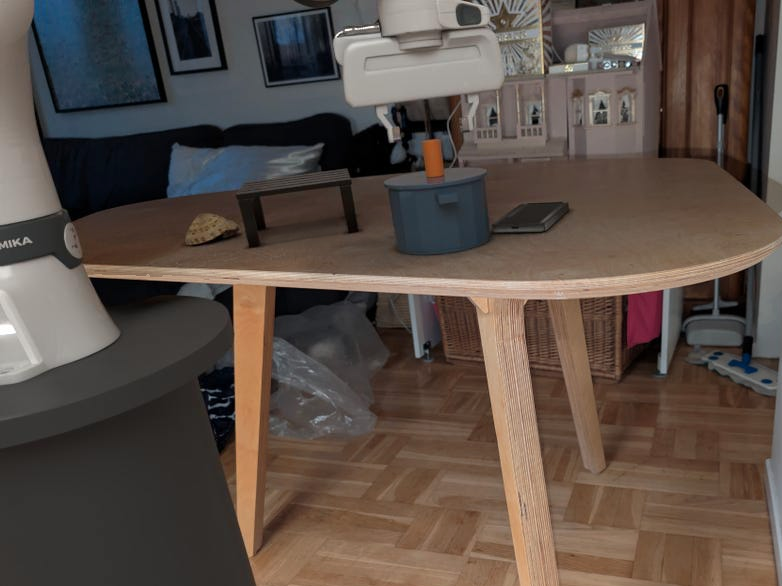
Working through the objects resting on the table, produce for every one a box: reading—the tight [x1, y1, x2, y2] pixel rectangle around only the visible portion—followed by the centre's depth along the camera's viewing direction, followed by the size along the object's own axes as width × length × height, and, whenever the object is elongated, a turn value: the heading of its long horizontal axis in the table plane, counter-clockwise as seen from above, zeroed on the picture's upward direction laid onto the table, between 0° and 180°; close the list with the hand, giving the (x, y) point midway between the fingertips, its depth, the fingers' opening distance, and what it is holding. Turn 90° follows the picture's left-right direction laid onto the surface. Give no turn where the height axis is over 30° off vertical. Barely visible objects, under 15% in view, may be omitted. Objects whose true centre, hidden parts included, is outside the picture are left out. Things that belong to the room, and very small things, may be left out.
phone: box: [491, 201, 570, 234], centre depth 102 cm, size 8×1×15 cm
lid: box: [383, 138, 488, 190], centre depth 91 cm, size 14×14×6 cm
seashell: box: [184, 212, 242, 246], centre depth 115 cm, size 8×6×8 cm
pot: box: [387, 176, 491, 256], centre depth 94 cm, size 13×18×8 cm
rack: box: [235, 168, 360, 249], centre depth 113 cm, size 17×16×8 cm
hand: (431, 137), depth 90 cm, fingers open, 8 cm apart
